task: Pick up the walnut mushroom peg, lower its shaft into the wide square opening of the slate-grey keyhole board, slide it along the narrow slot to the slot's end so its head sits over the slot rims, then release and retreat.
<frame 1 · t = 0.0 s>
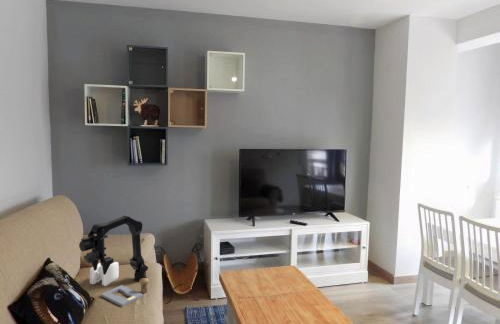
hand: (99, 272, 200), 15 cm above the table, fingers open, 9 cm apart
keyhole board: (122, 296, 202), on the table
peg: (144, 292, 208), on the table
cable organizer: (104, 282, 220), on the table
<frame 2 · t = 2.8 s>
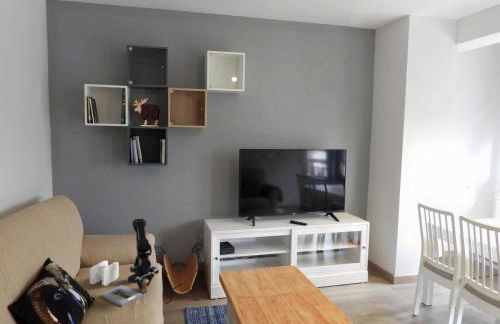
hand: (144, 288, 207), 3 cm above the table, fingers closed on peg, 5 cm apart
peg: (144, 292, 208), on the table, touching gripper
everything else where it was.
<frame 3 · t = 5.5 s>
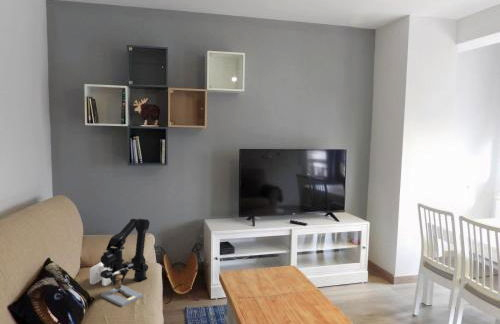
hand: (117, 283, 204), 7 cm above the table, fingers closed on peg, 5 cm apart
peg: (118, 287, 204), point 4 cm above the table, touching gripper
everything else where it was.
when the fingers open (3 cm above the table, at t = 8.4 s): peg stays where it is, resting in keyhole board.
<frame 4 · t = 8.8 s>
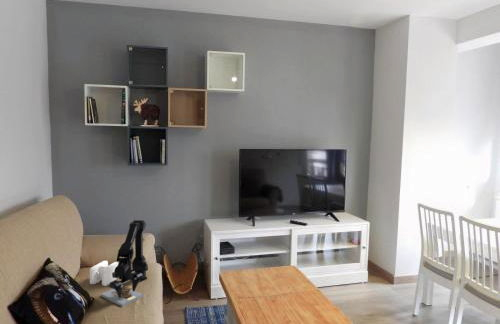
hand: (126, 294, 199), 3 cm above the table, fingers open, 9 cm apart
peg: (127, 298, 199), resting in keyhole board
everything else where it was.
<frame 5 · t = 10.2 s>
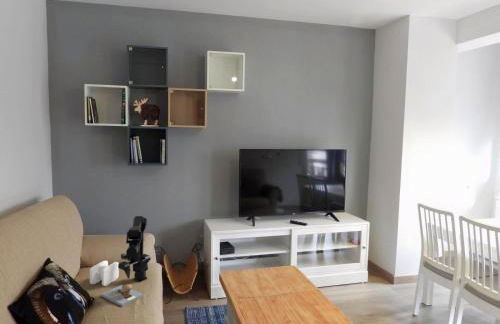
hand: (135, 275, 204), 12 cm above the table, fingers open, 9 cm apart
nothing on the table moved.
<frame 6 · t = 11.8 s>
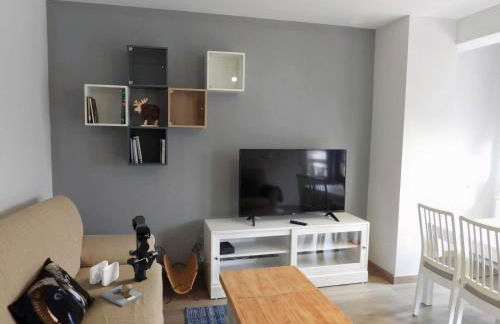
hand: (143, 271, 208), 12 cm above the table, fingers open, 9 cm apart
nothing on the table moved.
at the end: peg 0.1 cm from the target spot on the keyhole board, point 0.0 cm above the keyhole board's base; peg tilted 0°; the gripper is holding nothing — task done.
